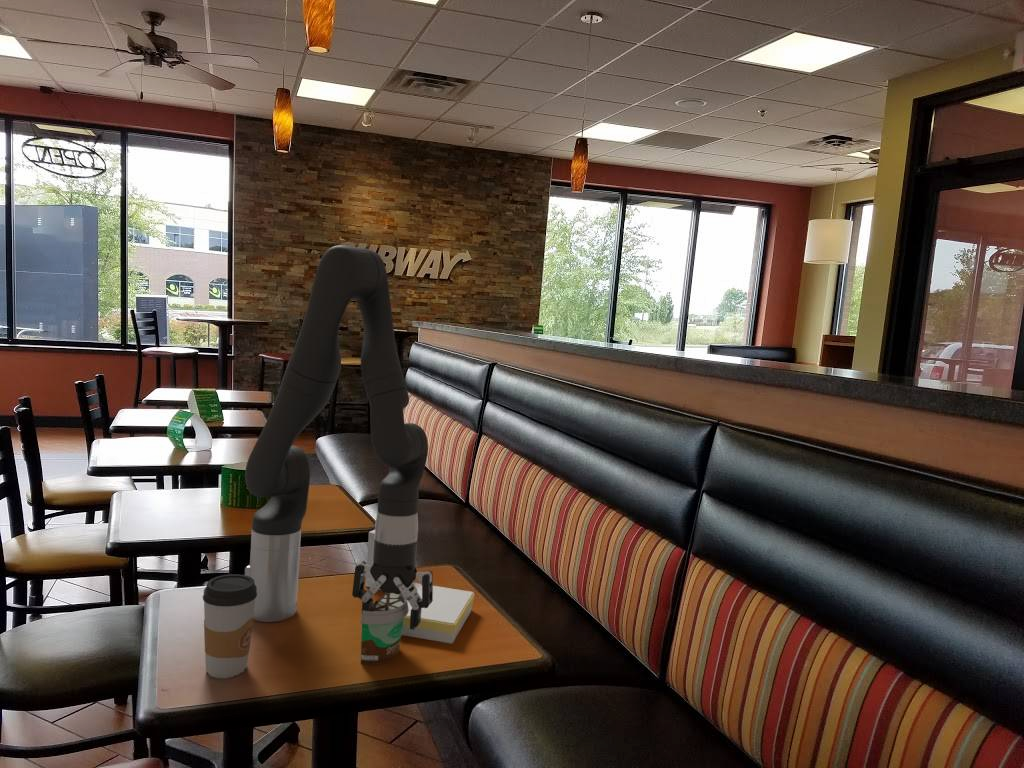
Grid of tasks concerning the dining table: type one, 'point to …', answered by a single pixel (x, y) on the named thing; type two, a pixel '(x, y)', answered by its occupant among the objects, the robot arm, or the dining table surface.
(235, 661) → the coffee cup
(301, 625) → the dining table surface
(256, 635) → the dining table surface
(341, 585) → the dining table surface
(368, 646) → the food container
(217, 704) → the dining table surface
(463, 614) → the white flat block
